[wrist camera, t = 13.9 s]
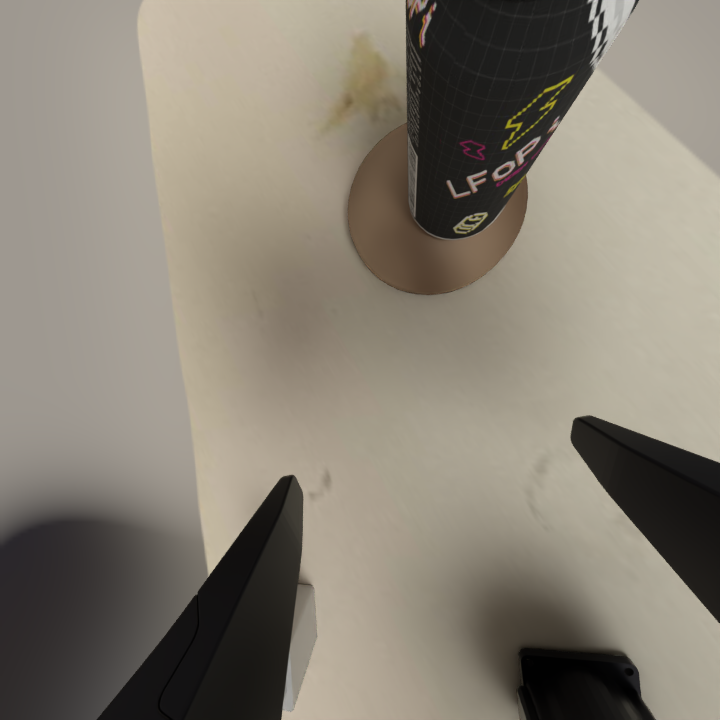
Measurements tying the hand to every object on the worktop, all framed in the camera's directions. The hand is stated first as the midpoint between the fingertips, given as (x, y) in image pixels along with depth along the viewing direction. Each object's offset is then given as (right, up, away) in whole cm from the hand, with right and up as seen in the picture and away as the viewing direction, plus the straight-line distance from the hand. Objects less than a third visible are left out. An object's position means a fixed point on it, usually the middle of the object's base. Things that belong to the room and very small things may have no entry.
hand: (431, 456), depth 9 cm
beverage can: (+4, +13, +8) cm, 16 cm away
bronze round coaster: (+3, +13, +9) cm, 16 cm away
